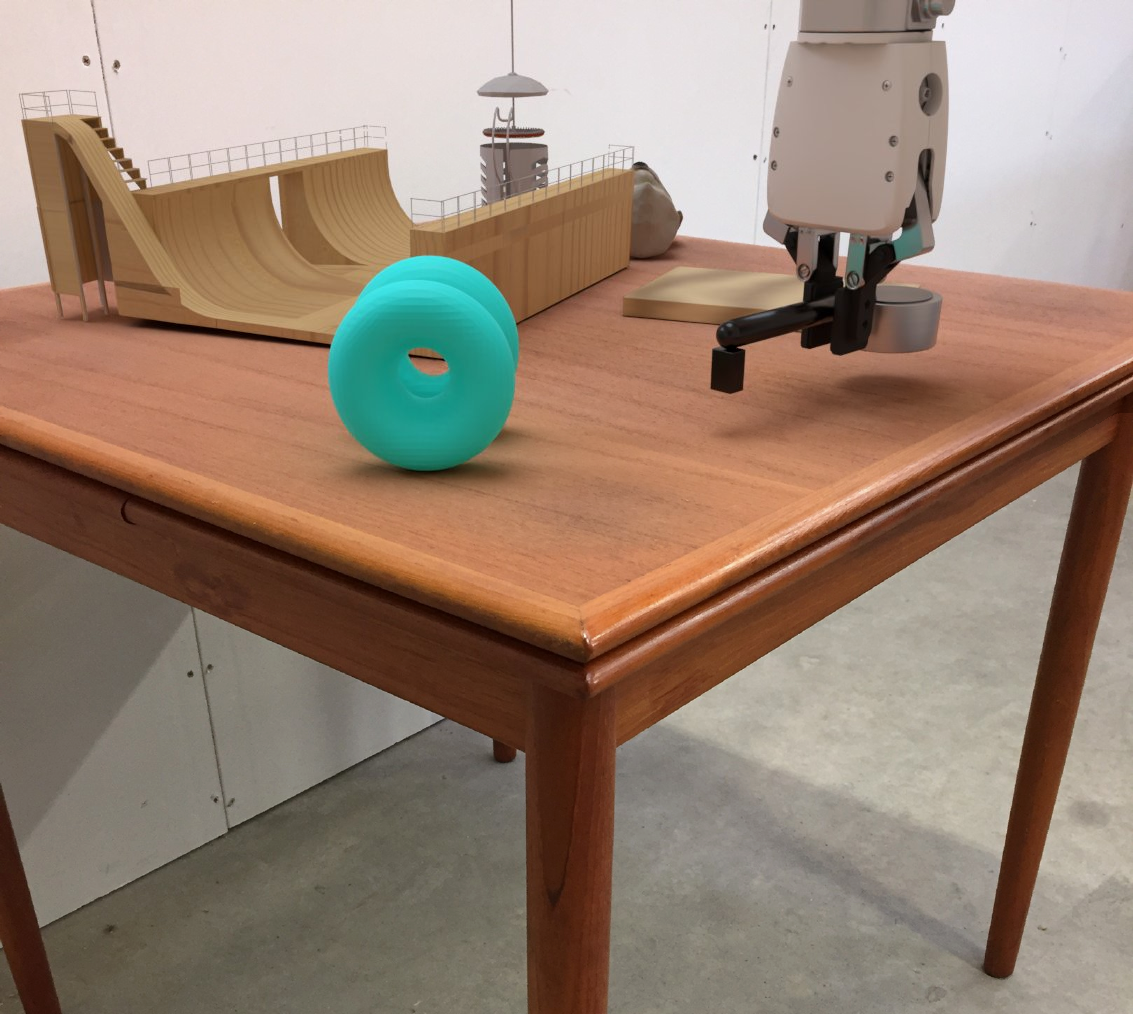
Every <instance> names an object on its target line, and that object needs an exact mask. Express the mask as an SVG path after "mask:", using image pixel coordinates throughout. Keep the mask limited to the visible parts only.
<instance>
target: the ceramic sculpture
mask: <svg viewBox="0 0 1133 1014" xmlns="http://www.w3.org/2000/svg"><path fill="white" fill-rule="evenodd" d="M628 170H635V180H634V191H633V209H632V227H631V246H630V257H634V258H636V259H647V258H650V257H654V256H659V255H662V254H664V253H665V252H666V251H667V250H669V248H670V247H671V245H672V243H673V242H674V240H675V238H676V236H677V234H678V231H679V230H680V227H681V225H682V223H683V219H684V214H683V212H682V211H681V210H680V209H679V210H677V209H676V206H675V204H674V202H673V199H672V197H671V195H670V193H669V192H668V190H667V189H666V187H665V186H664V184H663V183H662V181H661V180H660V178H659V176H658V175H659V174H657V173H656V172H655V170H654V169H652V168H651V167H650V166H649V165H648V164H647V163H646V162H643V161H636V162H634V163H632V164H631V167H630V168H628Z"/></svg>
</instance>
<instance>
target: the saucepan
mask: <svg viewBox="0 0 1133 1014" xmlns="http://www.w3.org/2000/svg"><path fill="white" fill-rule="evenodd" d="M834 301H835V293H834V294H830V295H826V296H822V297H818V298H814V299H811V300H807V301H803V302H799V303H795V304H791V305H787V306H783V307H779V308H775V309H771V310H767V311H763V312H759V313H755V314H751V315H747V316H743V317H739V318H735V319H731V320H727V321H724V322H723V323H721V324H718V327H716V328H717V329H716V331H715V339H716V342H717V344H718V346H717V347H713V348H712V349H711V364H710V365H711V368H710V388H709V389H710V390H711V391H715V392H719V393H724V394H728V395H732V394H733V395H734V394H736V393H739V392H742V391H744V383H745V382H744V381H745V368H746V366H745V365H746V364H745V363H746V349H745V348H741V347H744V346H748V345H751V344H755V343H759V342H762V341H766V340H769V339H770V340H771V339H773V338H777V337H780V336H784V335H788V334H791V333H796V332H799V330H803V329H807V328H810V327H814V326H818V325H821V324H825V323H829V322H832V321H833V315H834ZM942 305H943V295H942V294H941V293H939V292H937V291H934V290H931V289H927V288H922V287H920V288H917V287H909V286H893V285H878V286H877V287H876V296H875V305H874V314H873V322H872V330H871V334H870V336H869V338H868V344H867V346H866V348H864V349H862V350H860V351H861V352H862V351H863V352H869V353H875V354H876V353H877V354H912V353H919V352H924V351H929V350H931V349H933V348H934V347H935V346H936V345H937V341H938V335H939V326H940V319H941V314H942V313H941V312H942V307H943V306H942Z"/></svg>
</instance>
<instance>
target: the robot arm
mask: <svg viewBox="0 0 1133 1014" xmlns="http://www.w3.org/2000/svg"><path fill="white" fill-rule="evenodd" d="M955 5H956V0H799V10H798V24H797V39H796V40H791V41H789V45H788V48H787V51H786V55H785V59H784V63H783V67H782V71H781V77H780V82H779V86H778V91H777V96H776V101H775V108H774V113H773V114H774V115H773V120H772V121H773V122H772V128H771V136H770V143H769V154H768V163H767V176H766V177H767V179H766V203H767V211H766V214H765V217H764V219H763V222H762V230H763V232H764V233H765V234H766V235H767V236H769V237H770V238H772V239H773V240H775V242H777V243H779V244H780V245H782V246H784V247H785V249H786V251H787V253H788V254H789V256H790V257H791V259H792V260H793V262H794V265H795V273H796V274H795V275H797V277H798V279H799V280H800V281H802V282H804V292H803V301H807V300H811V299H814V298H818V297H822V296H826V295H830V294H834V293H835V301H834V315H833V321H832V322H829V323H825V324H821V325H818V326H814V327H810V328H807V329H803V330H802V331H801V332H800V347H801V348H802V349H807V350H812V349H816V348H819V347H822V346H826V345H829V351H830V352H831V354H832V355H834V356H839V357H841V356H845V355H849V354H852V353H855V352H858V351H861V350H862V349H864V348H866V346H867V344H868V338H869V336H870V334H871V330H872V322H873V314H874V305H875V296H876V287H877V284H880V283H882V282H886V279H887V276H888V275H889V274H890V273H891V272H892V271H893V270H894V269H895V268H896V267H897V266H899V264H901V262H903V261H906V260H910V259H913V258H916V257H919V256H922V255H925V254H929V253H930V252H932V251H933V250H934V248H935V245H936V241H935V235H934V228H933V224H934V223H935V222H936V221H937V219H938V218H939V216H940V212H941V208H942V203H943V197H944V187H945V177H946V168H947V167H946V166H947V156H948V155H947V154H948V138H949V137H948V136H949V113H950V111H949V110H950V93H949V92H950V89H949V88H950V87H949V86H950V85H949V83H950V82H949V66H948V54H947V53H948V52H947V44H946V40H933V35H934V29H936V26H937V18H938V17H939V16H940V17H947V16H948V17H949V16H950V15H951V14H952V13H953V11H954V8H955ZM899 229H901V234H900V236H899V237H898V238H896V239H894V240H893V236H894V235H893V234H894V233H896V232H897V231H898V230H899ZM841 233H846V234H849V239H848V246H847V247H848V249H847V256H846V264H845V271H844V277H843V276H840V275H837V271H838V267H839V257H840V243H841ZM843 279H845V287H844V282H843Z"/></svg>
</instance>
